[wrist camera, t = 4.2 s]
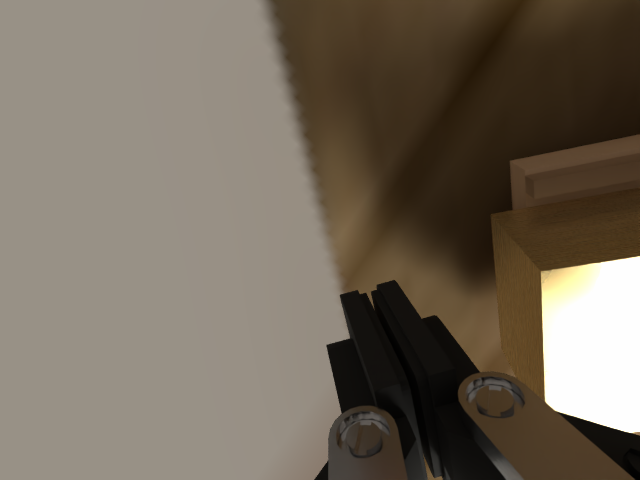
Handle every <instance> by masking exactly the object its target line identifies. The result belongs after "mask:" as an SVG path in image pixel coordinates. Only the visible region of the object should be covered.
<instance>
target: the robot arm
mask: <svg viewBox="0 0 640 480" xmlns="http://www.w3.org/2000/svg"><path fill="white" fill-rule="evenodd" d="M371 295H372V300H373V304H374V308H373V306H372V304H371V302H370V300H369V298H368V296H367V294H366V293H363V294H359V292H358V290H356V291H352V292H348V293H345V294H341V295H340V298H341V303H342V307H343V311H344V315H345V319H346V323H347V327H348V331H349V335H350V339H346V340H343V341H339V342H335V343H332V344H329V345H327V350H328V355H329V359H330V364H331V368H332V372H333V377H334V381H335V386H336V390H337V394H338V399H339V403H340V408H341V412H342V414H341V415H340V416H339V417H338V418H337V419H336V420H335V421H334V423H333V425H332V427H331V429H330V433H329V438H328V444H329V446H328V461H327V463H326V464H325V466H324V467H323V468H322V470H321V471H320V473H319V474H318V475H317V477H316V478H315V479H314V480H427V473H426V468H425V462H424V457H425V459H426V461H427V464H428V466H429V468H430V471H431V473H432V475H433V477H434V478H436V477H439V476H442V478H443V480H640V436H639V435H636V434H632V433H629V432H626V431H622V430H619V429H616V428H612V427H609V426H605V425H602V424H599V423H595V422H592V421H589V420H585V419H582V418H579V417H575V416H572V415H568V414H565V413H562V412H558V411H555V410H554V409H553V408H552V407H551V406H549V405H548V404H547V403H546V402H545V401H544V400H543V399H541V398H540V397H539V396H538V395H537V394H536V393H534V392H533V391H532V390H531V389H530V388H529V387H527V386H526V385H525V384H524V383H523V382H521V381H520V380H518V379H517V378H515V377H513V376H510V375H507V374H505V373H500V372H494V371H490V372H479V370H478V369H477V368H476V366H475V365H474V364H473V362H472V361H471V360H470V358H469V357H468V356H467V354H466V353H465V352H464V351H463V349H462V348H461V347H460V345H459V344H458V343H457V341H456V340H455V339H454V337H453V336H452V335H451V333H450V332H449V331H448V329H447V328H446V327H445V326H444V324H443V323H442V322H441V320H440V319H439V318H438V317H437V316H435V315H434V316H430V317H426V318H423V319H421V317H420V316H419V314H418V313H417V311H416V310H415V308H414V307H413V305H412V304H411V302H410V301H409V299H408V298H407V297H406V295H405V294H404V292H403V291H402V289H401V288H400V286H399V285H398V283H397V282H396V281H395V280H393V281H389V282H385V283H381V284H378V285H377V290H374V291H371ZM374 309H375V310H374ZM423 454H424V457H423Z"/></svg>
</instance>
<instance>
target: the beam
mask: <svg viewBox="0 0 640 480" xmlns="http://www.w3.org/2000/svg"><path fill="white" fill-rule="evenodd" d="M510 175H511V191H512V208H513V210H517V209H522V208H528V207H533V206H539V205H544V204H550V203H555V202H561V201H566V200H572V199H577V198H583V197H588V196H594V195H599V194H605V193H610V192H616V191H621V190H627V189H632V188H638V187H640V134H639V135H634V136H629V137H624V138H619V139H614V140H609V141H605V142H600V143H595V144H590V145H585V146H580V147H575V148H570V149H565V150H561V151H556V152H551V153H546V154H541V155H536V156H531V157H526V158H521V159H516V160H512V161H510Z"/></svg>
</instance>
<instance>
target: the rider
mask: <svg viewBox="0 0 640 480" xmlns="http://www.w3.org/2000/svg"><path fill="white" fill-rule="evenodd" d="M490 215H491V228H492V240H493V252H494V264H495V276H496V288H497V300H498V313H499V325H500V337H501V348H502V350H503V352H504V354H505V356H506V358H507V360H508V362H509V364H510V366H511V368H512V370H513V372H514V374H515V376H516V378H517V379H518V380H520V381H521V382H523V383H524V384H525V385H526V386H527V387H529V388H530V389H531V390H532V391H533V392H534V393H536V394H537V395H538V396H539V397H540V398H541V399H543V400H544V401H545V402H546V403H547V404H548V405H549V406H551V407H552V408H553V409H554V410H555V411H558V412H562V413H565V414H568V415H572V416H575V417H579V418H582V419H585V420H589V421H592V422H595V423H599V424H602V425H605V426H609V427H612V428H616V429H619V430H622V431H626V432H638V431H640V187H638V188H632V189H627V190H621V191H616V192H610V193H605V194H599V195H594V196H588V197H583V198H577V199H572V200H566V201H561V202H555V203H550V204H544V205H539V206H533V207H528V208H522V209H517V210H511V211H505V212H500V213H494V214H490Z"/></svg>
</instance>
